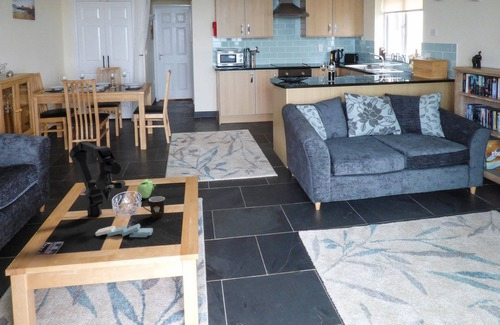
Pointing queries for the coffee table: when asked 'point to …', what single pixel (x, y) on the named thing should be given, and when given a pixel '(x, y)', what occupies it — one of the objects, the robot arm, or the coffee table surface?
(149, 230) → the domino
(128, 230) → the domino
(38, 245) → the coffee table surface
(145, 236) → the domino
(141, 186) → the green rounded lump
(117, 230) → the domino
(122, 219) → the coffee table surface
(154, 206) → the coffee mug
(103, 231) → the domino
